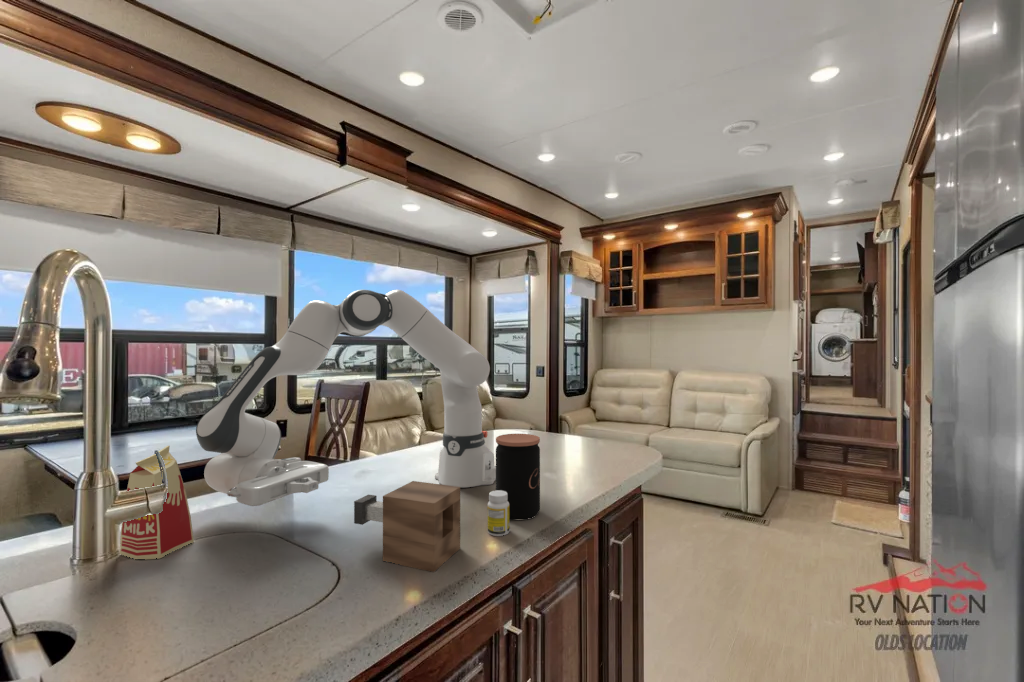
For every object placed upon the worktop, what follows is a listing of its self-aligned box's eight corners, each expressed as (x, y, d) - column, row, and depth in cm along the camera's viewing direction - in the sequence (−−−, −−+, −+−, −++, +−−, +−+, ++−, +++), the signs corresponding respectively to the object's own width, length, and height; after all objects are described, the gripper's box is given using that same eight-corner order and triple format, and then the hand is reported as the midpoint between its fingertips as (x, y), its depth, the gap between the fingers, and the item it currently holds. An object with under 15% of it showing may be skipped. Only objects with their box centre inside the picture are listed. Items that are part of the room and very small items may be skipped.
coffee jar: (536, 523, 104) (536, 443, 104) (490, 519, 106) (490, 441, 106) (543, 506, 114) (542, 434, 114) (501, 503, 116) (501, 432, 116)
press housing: (413, 539, 95) (412, 480, 95) (460, 548, 91) (460, 486, 91) (382, 561, 86) (382, 496, 86) (434, 571, 82) (434, 503, 82)
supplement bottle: (499, 525, 102) (499, 488, 102) (514, 532, 99) (514, 493, 99) (482, 532, 99) (482, 493, 99) (497, 538, 95) (497, 498, 95)
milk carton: (159, 538, 96) (159, 442, 96) (196, 541, 94) (196, 444, 94) (113, 558, 87) (113, 452, 87) (153, 562, 85) (153, 455, 85)
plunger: (368, 515, 95) (368, 494, 96) (417, 523, 91) (417, 501, 91) (354, 523, 91) (354, 501, 91) (405, 532, 87) (405, 509, 87)
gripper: (221, 477, 93) (272, 486, 88) (301, 455, 112) (346, 461, 107) (221, 508, 93) (271, 518, 88) (301, 481, 112) (346, 488, 107)
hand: (313, 487), depth 98 cm, fingers closed
